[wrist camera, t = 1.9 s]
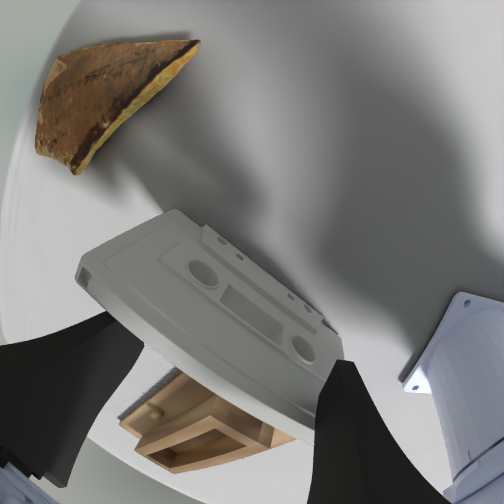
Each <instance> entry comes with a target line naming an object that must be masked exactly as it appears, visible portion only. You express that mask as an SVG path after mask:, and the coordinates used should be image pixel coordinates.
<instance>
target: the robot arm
mask: <svg viewBox="0 0 504 504" xmlns="http://www.w3.org/2000/svg"><path fill="white" fill-rule="evenodd" d="M466 300H468V301H467V302H466V303H465V304H464V302H465V301H466ZM143 348H144V342H143V341H142V340H140V339H139V338H138V337H137V336H135V335H134V334H133V333H132V332H131V331H129V330H128V329H127V328H126V327H125V326H123V325H122V324H121V323H120V322H119V321H118V320H117V319H115V318H114V317H113V316H112V315H111V314H110V313H109V312H108V311H105V312H103V313H100V314H98V315H96V316H94V317H91V318H89V319H87V320H85V321H82V322H80V323H78V324H75V325H73V326H70V327H68V328H65V329H63V330H60V331H58V332H55V333H52V334H49V335H46V336H43V337H39V338H36V339H32V340H28V341H23V342H18V343H13V344H8V345H1V346H0V504H34V503H35V504H60V503H59V502H57V501H56V500H55V499H53V498H52V497H51V496H49V495H48V494H47V493H45V492H44V491H43V490H42V489H40V488H39V487H38V486H37V485H35V484H34V483H33V482H32V481H31V480H30V479H29V477H30V476H31V474H32V475H34V476H35V477H36V478H37V479H38V480H40V479H41V478H42V476H44V477H45V478H46V479H47V480H49V481H50V482H52V483H53V484H54V485H55V486H57V487H58V488H64V487H66V486H67V483H68V480H69V477H70V474H71V471H72V468H73V465H74V463H75V460H76V458H77V455H78V453H79V451H80V448H81V446H82V444H83V442H84V440H85V438H86V436H87V434H88V432H89V430H90V428H91V426H92V425H93V423H94V421H95V419H96V417H97V415H98V414H99V412H100V411H101V409H102V408H103V406H104V405H105V403H106V402H107V401H108V399H109V398H110V397H111V395H112V394H113V393H114V392H115V390H116V389H117V388H118V386H119V385H120V384H121V382H122V381H123V380H124V378H125V377H126V376H127V374H128V373H129V372H130V370H131V369H132V367H133V366H134V364H135V362H136V361H137V359H138V357H139V355H140V353H141V352H142V350H143ZM402 387H403V390H404V391H406V392H418V393H432V395H433V399H434V402H435V406H436V409H437V413H438V416H439V420H440V424H441V428H442V432H443V436H444V440H445V444H446V449H447V453H448V458H449V463H450V469H451V474H452V480H453V484H452V485H451V486H450V487H448V488H447V489H445V490H444V491H443V495H444V497H443V496H442V495H441V494H440V493H439V492H438V491H437V490H436V489H435V488H434V487H433V486H432V485H431V484H430V483H429V482H428V481H427V480H426V479H425V478H424V477H423V476H422V475H421V474H420V472H419V471H418V470H417V469H416V468H415V467H414V465H413V464H412V463H411V462H410V460H409V459H408V458H407V457H406V455H405V454H404V452H403V451H402V450H401V448H400V447H399V445H398V444H397V442H396V441H395V439H394V438H393V436H392V435H391V433H390V431H389V430H388V428H387V426H386V425H385V423H384V421H383V419H382V418H381V416H380V414H379V412H378V410H377V408H376V406H375V404H374V402H373V401H372V399H371V397H370V395H369V393H368V391H367V388H366V386H365V384H364V382H363V380H362V378H361V376H360V374H359V372H358V370H357V368H356V366H355V364H354V362H351V361H346V360H340V359H337V360H336V362H335V364H334V366H333V368H332V370H331V372H330V374H329V376H328V378H327V380H326V382H325V384H324V386H323V388H322V390H321V392H320V394H319V396H318V403H317V409H316V416H315V433H314V457H313V473H312V481H311V486H310V491H309V496H308V501H307V504H504V302H500V301H496V300H493V299H489V298H485V297H481V296H477V295H473V294H469V293H465V292H459V293H457V294H456V295H455V296H454V297H453V299H452V301H451V303H450V305H449V307H448V309H447V311H446V313H445V315H444V317H443V319H442V321H441V323H440V325H439V326H438V328H437V330H436V332H435V334H434V335H433V337H432V339H431V341H430V342H429V344H428V346H427V347H426V349H425V351H424V352H423V354H422V356H421V357H420V359H419V360H418V362H417V364H416V365H415V367H414V368H413V370H412V371H411V373H410V374H409V376H408V377H407V379H406V380H405V381H404V383H403V385H402Z"/></svg>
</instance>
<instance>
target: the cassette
mask: <svg viewBox="0 0 504 504" xmlns="http://www.w3.org/2000/svg"><path fill="white" fill-rule="evenodd" d="M75 280H76V282H77V283H78V284H79V285H80V286H81V287H82V288H83V289H84V290H85V291H86V292H87V293H88V294H89V295H90V296H91V297H92V298H93V299H95V300H96V301H97V302H98V303H99V304H100V305H101V306H102V307H103V308H104V309H105V310H106V311H108V312H109V313H110V314H111V315H112V316H113V317H114V318H115V319H117V320H118V321H119V322H120V323H121V324H122V325H123V326H125V327H126V328H127V329H128V330H129V331H131V332H132V333H133V334H134V335H135V336H137V337H138V338H139V339H140V340H142V341H143V342H144V343H145V344H147V345H148V346H149V347H150V348H152V349H153V350H154V351H156V352H157V353H158V354H159V355H161V356H162V357H163V358H165V359H166V360H167V361H169V362H170V363H172V364H173V365H174V366H176V367H177V368H178V369H180V370H181V371H183V372H184V373H186V374H187V375H188V376H190V377H191V378H193V379H194V380H196V381H197V382H199V383H200V384H202V385H203V386H205V387H206V388H208V389H209V390H211V391H212V392H214V393H216V394H217V395H219V396H220V397H222V398H223V399H225V400H227V401H228V402H230V403H232V404H233V405H235V406H237V407H238V408H240V409H242V410H243V411H245V412H247V413H249V414H250V415H252V416H254V417H256V418H258V419H259V420H261V421H263V422H265V423H267V424H269V425H271V426H273V427H274V428H276V429H278V430H280V431H282V432H284V433H286V434H288V435H290V436H292V437H294V438H297V439H299V440H301V441H303V442H305V443H307V444H309V445H312V446H314V433H315V416H316V409H317V403H318V396H319V394H320V392H321V390H322V388H323V386H324V384H325V382H326V380H327V378H328V376H329V374H330V372H331V370H332V368H333V366H334V364H335V362H336V360H337V359H340V360H344V354H343V346H342V340H341V338H340V337H339V336H338V335H337V334H336V333H334V332H333V331H332V330H331V329H329V328H328V327H327V326H325V325H324V324H323V323H322V320H323V316H322V315H321V314H319V313H318V312H317V311H315V310H314V309H313V308H312V307H310V306H309V305H308V304H307V303H305V302H304V301H303V300H301V299H300V298H299V297H298V296H296V295H295V294H294V293H293V292H291V291H290V290H289V289H288V288H286V287H285V286H284V285H282V284H281V283H280V282H279V281H277V280H276V279H275V278H274V277H272V276H271V275H270V274H269V273H267V272H266V271H265V270H264V269H262V268H261V267H260V266H258V265H257V264H256V263H255V262H253V261H252V260H251V259H250V258H248V257H247V256H246V255H245V254H243V253H242V252H241V251H240V250H238V249H237V248H236V247H235V246H233V245H232V244H231V243H230V242H228V241H227V240H226V239H225V238H223V237H222V236H221V235H220V234H218V233H217V232H216V231H215V230H213V229H212V228H211V227H210V226H208V225H207V224H205V225H204V226H202V227H200V226H199V225H197V224H196V223H195V222H194V221H192V220H191V219H190V218H189V217H187V216H186V215H185V214H184V213H182V212H181V211H180V210H178V209H171V210H169V211H167V212H165V213H163V214H161V215H158V216H156V217H154V218H152V219H150V220H148V221H146V222H144V223H142V224H140V225H138V226H136V227H134V228H132V229H130V230H128V231H126V232H124V233H122V234H121V235H119V236H117V237H115V238H113V239H111V240H109V241H107V242H105V243H103V244H102V245H100V246H98V247H96V248H94V249H92V250H91V251H89V252H87V253H85V254H84V255H83V256H82V257H81V260H80V263H79V266H78V269H77V272H76V275H75Z"/></svg>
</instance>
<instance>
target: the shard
mask: <svg viewBox="0 0 504 504" xmlns="http://www.w3.org/2000/svg"><path fill="white" fill-rule="evenodd" d="M200 43H201V41H200V40H162V41H156V42H153V43H151V42H145V43H113V44H107V45H95V46H91V47H89V48H81V49H78V50H75V51H71V52H70V53H69V54H67V55H62V56H58V57H57V58H56V59H55V61H54V63H53V65H52V67H51V69H50V71H49V73H48V76H47V78H46V80H45V83H44V85H43V91H42V95H41V99H40V108H39V115H38V121H37V130H36V136H35V149H36V153H37V154H39V155H42V156H47V157H51V158H54V159H56V160H58V161H59V162H61V163H63V164H64V165H66V166H68V167H69V169H70V170H71V172H72V173H73V175H80V174H81V172H82V171H84V170H85V168H86V167H87V166H88V164H89V163H90V161H91V159H92V157H93V155H94V153H95V152H96V150H97V149H98V148H99V147H101V146H102V144H103V143H104V141H106V140H107V139H108V138H109V137H110V136H111V135H112V133H113V132H114V131H115V130H116V129H117V128H118V127H119V126H120V125H121V124H122V123H123V122H124V121H125V120H127V119H128V118H129V117H131V116H132V115H133V114H134V113H135V112H136V111H137V110H138V109H140V108H141V107H142V106H143V105H144V104H146V103H147V102H148V101H149V100H150V99H151V98H152V97H153V96H154V95H155V94H156V93H157V92H159V91H160V90H161V89H163V88H164V87H165V86H166V85H167V84H168V83H169V82H170V81H171V80H172V79H173V78H174V77H175V76H176V75H177V74H178V73H179V71H180V70H181V68H182V67H183V66H184V65H185V64H186V63H187V62H189V61H190V60H191V59H192V58H193V57H194V56H195V55H196V54H197V52H198V50H199V47H197V46H199V44H200Z"/></svg>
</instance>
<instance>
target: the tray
mask: <svg viewBox="0 0 504 504" xmlns="http://www.w3.org/2000/svg"><path fill="white" fill-rule="evenodd" d="M118 425H120V426H121V427H123V428H124V429H125V430H127V431H128V432H130V433H131V434H133V435H134V436H136V437H137V438H139V439H140V441H139V443H138V444H137V446H136V448H135V449H134V451H136V452H137V453H139V454H140V455H142V456H144V457H145V458H147V459H149V460H150V461H152V462H154V463H155V464H157V465H159V466H161V467H162V468H164V469H166V470H168V471H170V472H171V473H173V474H177V473H182V472H188V471H194V470H198V469H203V468H207V467H211V466H215V465H219V464H223V463H227V462H231V461H234V460H238V459H241V458H244V457H248V456H251V455H254V454H257V453H260V452H263V451H266V450H269V449H272V448H274V447H277V446H280V445H283V444H285V443H288V442H290V441H293V440H295V439H297V438H294V437H292V436H290V435H288V434H286V433H284V432H282V431H280V430H278V429H276V428H274V427H273V426H271V425H269V424H267V423H265V422H263V421H261V420H259V419H258V418H256V417H254V416H252V415H250V414H249V413H247V412H245V411H243V410H242V409H240V408H238V407H237V406H235V405H233V404H232V403H230V402H228V401H227V400H225V399H223V398H222V397H220V396H219V395H217V394H216V393H214V392H212V391H211V390H209V389H208V388H206V387H205V386H203V385H202V384H200V383H199V382H197V381H196V380H194V379H193V378H191V377H190V376H188V375H187V374H186V373H184V372H183V371H182V372H180V373H179V374H178V375H177V376H176V377H175V378H173V379H172V380H171V381H170V382H169V383H167V384H166V385H165V386H164V387H162V388H161V389H160V390H159V391H158V392H156V393H155V394H154V395H153V396H152V397H150V398H149V399H148V400H147V401H145V402H144V403H143V404H142V405H140V406H139V407H138V408H137V409H135V410H134V411H133V412H132V413H130V414H129V415H128V416H127V417H125V418H124V419H123V420H121V421H120V423H119V424H118Z"/></svg>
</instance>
